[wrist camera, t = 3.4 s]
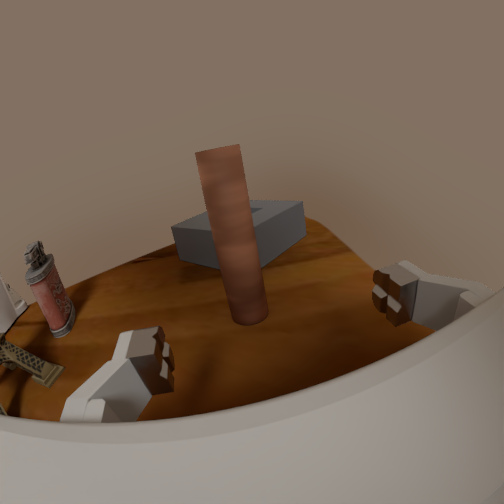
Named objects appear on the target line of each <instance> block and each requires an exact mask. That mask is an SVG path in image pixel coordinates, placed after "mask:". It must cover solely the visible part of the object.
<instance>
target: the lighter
mask: <svg viewBox="0 0 504 504" xmlns="http://www.w3.org/2000/svg"><path fill="white" fill-rule="evenodd" d="M43 249H44V248H43V245H42V242H41V241H36V242H34V243H32V244H30V245H28V246H27V250H26V251H25V253H24V256H23V257H24V260H25V263H26V265H28V264H30V263H31V267H30V268H29V269H28V271H27V273H26V275H25V279H26V281H27V284H28V285H30V287H31V289H32V291H33V293H34V295H35V297H36V300H37V302H38V304H39V306H40V308H41V310H42V312H43V314H44V316H45V318H46V320H47V322H48V323H49V325H50V330H51V332H52V334H53V336H54V337H55V338H59V337H62V336H65V335H66V334H68V333H69V332H70V331H71V329H72V326H73V323H74V319H75V308H74V305H73V303H72V301H71V300H70V299H69V298H68V295H67V293H66V291H65V289H64V287H63V284H62V282H61V280H60V277H59V275H58V272H57V269H56V267H55V264H54V258H53V255H52V254H48V255H45V253H44V250H43Z"/></svg>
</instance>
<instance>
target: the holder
mask: <svg viewBox="0 0 504 504" xmlns="http://www.w3.org/2000/svg"><path fill="white" fill-rule="evenodd" d="M249 202H250V207H251V213H252V219H253V225H254V230H255V236H256V242H257V248H258V254H259V260H260V265H261V268H262V267H264V266H265V265H266V264H268V263H269V262H270V261H272V260H273V259H275V258H276V257H277V256H279V255H280V254H281V253H283V252H284V251H285V250H287V249H288V248H290V247H291V246H292V245H294V244H295V243H296V242H298V241H299V240H300V239H302V238H303V237H304V236H306V226H305V217H304V209H303V202H302V201H270V200H268V201H267V200H266V201H265V200H264V201H263V200H249ZM171 229H172V232H173V236H174V240H175V244H176V247H177V251H178V255H179V258H180V260H183V261H187V262H191V263H195V264H199V265H203V266H207V267H212V268H216V269H220V266H219V262H218V258H217V253H216V249H215V245H214V240H213V236H212V231H211V227H210V222H209V218H208V213H207V211H206V212H204V213H202V214H199V215H197V216H195V217H192V218H190V219H188V220H185V221H183V222H181V223H178V224H176V225H174V226H172V227H171Z"/></svg>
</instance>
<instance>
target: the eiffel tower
mask: <svg viewBox="0 0 504 504" xmlns="http://www.w3.org/2000/svg"><path fill="white" fill-rule="evenodd" d="M2 363H3V366H5V367H7V368H9V369H10V370H12V371H13V370H14V369H15V368H16V367H17V366H18V367H20V368H22V369H24V370H25V371H27V372H29V373H31V374H33V376H32V379H33V380H34V381H35V382H37V383H39V384H41V385H43V386H46V387H48V388H50V387H51V386H52V385H53V384H54V382H55V381H56V380H57V378H58V377H59V376H60V375H61V373H62V372H63V371H64V369H65V368H64V367H62V366H59V365H56V364H53V363H49V362H46V361H44V360H42V359H40V358H38V357H36V356H34V355H32V354H30V353H28V352H27V351H25V350H23V349H21V348H19V347H17V346H15V345H13V344H12V343H10V342H8V341H6V340H5V335H4V332H3V333H0V365H1V364H2ZM0 414H1V415H5V416H8V415H7V414H6V412H5V410H4V409H3V407H2V405H1V404H0Z"/></svg>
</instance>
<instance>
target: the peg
mask: <svg viewBox="0 0 504 504" xmlns="http://www.w3.org/2000/svg"><path fill="white" fill-rule="evenodd" d="M195 155H196V160H197V165H198V170H199V175H200V180H201V185H202V190H203V194H204V199H205V204H206V209H207V213H208V218H209V222H210V227H211V231H212V236H213V240H214V245H215V249H216V253H217V258H218V262H219V266H220V270H221V274H222V279H223V283H224V287H225V291H226V295H227V299H228V303H229V307H230V311H231V315H232V319H233V321H234V322H235V323H237V324H240V325H253V324H257V323H259V322H261V321H263V320H264V319H265V318H266V317H267V315H268V307H267V301H266V295H265V289H264V283H263V277H262V271H261V265H260V260H259V254H258V248H257V242H256V236H255V230H254V225H253V219H252V213H251V207H250V202H249V196H248V190H247V185H246V179H245V174H244V168H243V162H242V156H241V151H240V145H239V144H237V145H232V146H225V147H220V148H215V149H210V150H205V151H201V152H196V153H195Z"/></svg>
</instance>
